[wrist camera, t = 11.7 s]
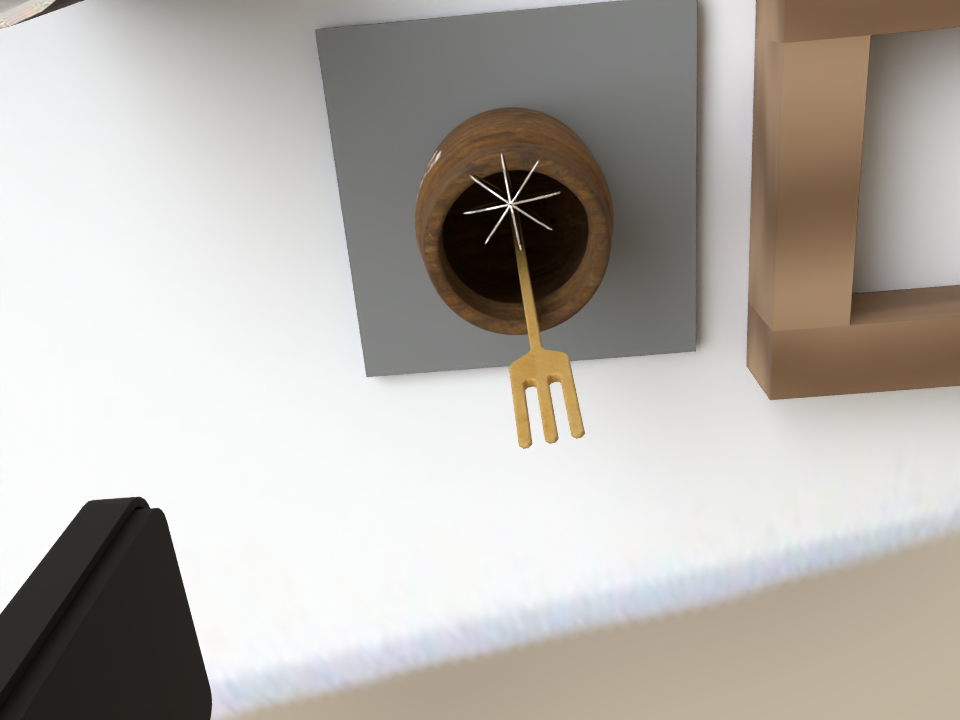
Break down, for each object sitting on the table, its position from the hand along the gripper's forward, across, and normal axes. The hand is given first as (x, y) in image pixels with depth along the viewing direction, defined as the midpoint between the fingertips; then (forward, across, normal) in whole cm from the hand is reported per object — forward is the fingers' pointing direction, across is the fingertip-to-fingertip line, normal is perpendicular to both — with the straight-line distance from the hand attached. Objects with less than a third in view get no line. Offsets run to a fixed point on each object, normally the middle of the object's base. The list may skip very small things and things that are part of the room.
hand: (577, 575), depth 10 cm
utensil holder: (+22, 0, 0) cm, 22 cm away
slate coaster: (+22, 0, +1) cm, 22 cm away
